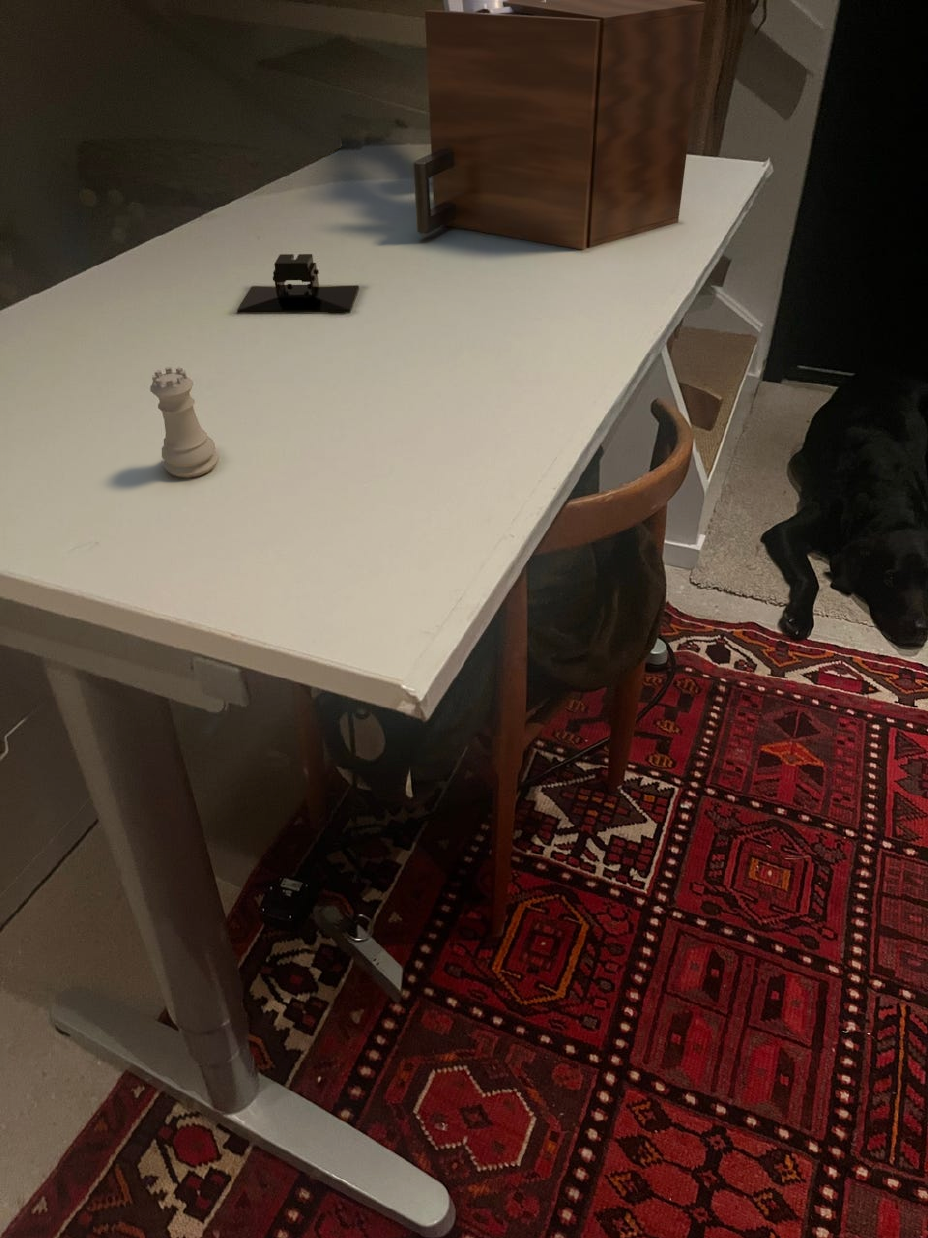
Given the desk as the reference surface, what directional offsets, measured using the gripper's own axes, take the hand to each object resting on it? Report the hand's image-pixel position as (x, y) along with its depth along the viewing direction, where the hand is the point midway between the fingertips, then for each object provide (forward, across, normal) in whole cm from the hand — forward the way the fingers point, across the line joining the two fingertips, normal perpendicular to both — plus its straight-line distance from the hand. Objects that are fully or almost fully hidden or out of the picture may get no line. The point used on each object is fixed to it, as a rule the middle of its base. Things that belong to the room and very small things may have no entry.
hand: (498, 101), depth 107 cm
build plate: (+24, -22, -14) cm, 35 cm away
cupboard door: (+15, -4, +4) cm, 16 cm away
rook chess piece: (+47, -19, -40) cm, 65 cm away
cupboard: (+9, +5, +16) cm, 19 cm away
